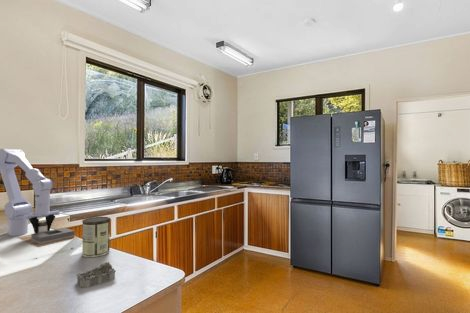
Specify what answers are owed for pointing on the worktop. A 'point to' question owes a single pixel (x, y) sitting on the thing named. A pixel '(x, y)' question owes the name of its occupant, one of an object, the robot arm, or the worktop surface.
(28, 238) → the board
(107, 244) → the coffee can
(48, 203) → the robot arm
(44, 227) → the cylinder
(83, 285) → the egg carton
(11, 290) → the worktop surface
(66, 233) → the grey square frame plate
